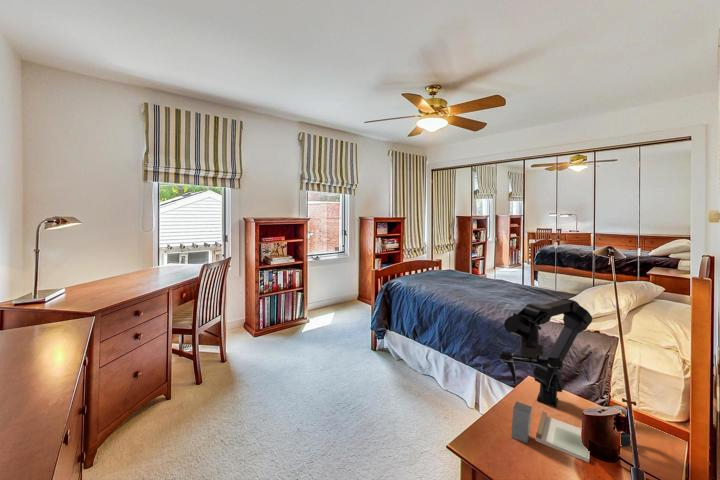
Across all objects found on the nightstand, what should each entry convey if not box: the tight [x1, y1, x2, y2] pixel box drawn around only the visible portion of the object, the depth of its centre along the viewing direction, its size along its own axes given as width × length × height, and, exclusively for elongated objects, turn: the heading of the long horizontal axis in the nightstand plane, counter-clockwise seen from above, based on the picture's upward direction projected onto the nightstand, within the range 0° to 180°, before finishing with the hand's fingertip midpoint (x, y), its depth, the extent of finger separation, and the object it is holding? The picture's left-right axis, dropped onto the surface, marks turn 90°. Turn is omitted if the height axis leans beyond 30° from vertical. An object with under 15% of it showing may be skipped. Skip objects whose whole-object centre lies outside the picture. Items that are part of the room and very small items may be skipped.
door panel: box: [535, 411, 591, 463], centre depth 100 cm, size 14×14×2 cm
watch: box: [609, 404, 636, 447], centre depth 99 cm, size 6×8×11 cm
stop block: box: [510, 401, 533, 445], centre depth 100 cm, size 4×4×10 cm
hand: (531, 387), depth 103 cm, fingers open, 9 cm apart
